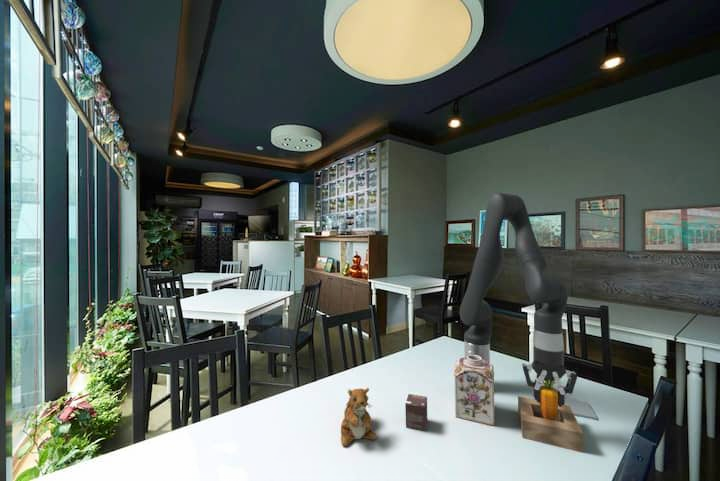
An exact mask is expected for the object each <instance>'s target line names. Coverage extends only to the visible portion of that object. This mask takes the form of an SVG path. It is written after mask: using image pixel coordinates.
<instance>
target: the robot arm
mask: <svg viewBox="0 0 720 481" xmlns="http://www.w3.org/2000/svg"><path fill="white" fill-rule="evenodd" d="M483 221H484V222H483V228H482V232H481V233H482V234H481V237H480V241H479V245H478V249H477V253H476V256H475V260H474V263H473V266H472V270H471V275H470V278H469V280H468V281H469V282H468V285H467V289H466V292H465V294H464V296H463V299H462V301H461V304H460V307H459V317H460V318H459V319H460V320H461V322H462V324H464V325H466V326H469V328H468V329H467V330H466V331H465V332H464V335H463V338H464V341H463V342H464V343H463V344H464V358H465V357H467V356H468V355H477V356H480V357H481V358H482V359H483V360H485V361H487V362H489V363H491V353H490V352H491V350H490V349H491V344H490V341H491V337H492V334H493V311H492V307H491V305H490V304H489V303H488V302H487V301H485V300H484V298H485V296H486V294H487V292H488V290H489V289H490V288H491V286H493V284H494V283H495V281H496V280H497V279H498V276H499V274H500V273H501V269H502V267H503V266H502V265H503V263H504V259H505V254H504V249H503V244H502V241H501V229H502V225H503V222H504V221H508V222H509V223H510V224H511V226H512V228H513V230H514V233H515V241H514V249H515V254H516V257H517V259H518V261H519V264H520V266H521V268H522V270H523V274H524V275H523V277H524V283H525V290H526V293H527V295H528V296H529V298H530V299H531V300H532V301H533V302H536V303H538V304H543V305H542V307H541V308H539V309H537V310H535V311H534V312H533V334H532V343H533V344H532V345H533V347H532V348H533V351H532V352H533V353H532V354H533V355H532V356H533V361H532V363H531V364H526V363H522V364H521V367H522V371H523V374H524V377H525V381H526V383H527V386H528V387H531V388H533V397H534V398H533V399H535V400H537V402H539V403H540V387H541V386H542V384H543V380H544V381H549V382H550V381H551V382H552V381H553V380H555V381H556V382H555V384H556V387H557V389H558V390H557V391H558V405H559V407H562V405H564V404H565V398H566V397H565V396H566V394H569V395H572V394H573V392H574V389H575V386H576V383H577V379H578V376H577V373H576V372H575V371H574V370H567V369H566V368H565V366H564V364H565V360H564V359H565V358H564V356H565V354H564V351H565V350H564V337H563V336H564V335H563V316H564V313H565V310H566V306H567V302H568V299H569V292H568V286H567V285H566V284H565V282H564V281H562V280H561V279H558V278H544V276H543V273H545V272H546V271H548V270H549V267H550V265H549V263H548V260H547V259H546V256H545V255H544V253H543V250H542V249H541V247H540V245H539V243H538V241H537V238H536V236H535V233H534V230H533V226H532V223H531V220H530V217H529V213H528V209H527V207H526V204H525V202H524V199H523V198H522V197H520V195H516V194H513V193H512V194H511V193H504V192H496V193H494V194H492V195H491V197H490V198H489V200H488V202H487V204H486V209H485V214H484V220H483ZM532 369H533V371H534V372H535V374H536V376H535V379H534V381H532V380H531V376H530V374H531V373H532ZM565 375H566V378H567V381H566V384H565V386H563V384H562V382H561V379H562V378H563V376H565Z"/></svg>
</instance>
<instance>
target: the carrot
mask: <svg viewBox="0 0 720 481" xmlns="http://www.w3.org/2000/svg"><path fill="white" fill-rule="evenodd" d="M542 384H544V385H541V386H540V388H539V390H540V406H541V411H542V415H543V418H544V419H548V420H552V421H555V419H556V416H557V411H558V390H557V389H556V388H554V387H553V386H554V385H555V384H556V381H555V380H553V381H552V382H551V381H544V380H543V382H542Z"/></svg>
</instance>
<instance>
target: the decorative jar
mask: <svg viewBox="0 0 720 481" xmlns="http://www.w3.org/2000/svg"><path fill="white" fill-rule="evenodd" d="M454 368H455V369H454V375H453V376H454V416H455V418H459V419H464V420H468V421H472V422H476V423H480V424H485V425H488V426H489V425H490V426H495V393H496V392H495V388H494V387H495V385H494V384H495V383H494V382H495V379H494V378H495V373H494V372H495V371H494V364H493V363H491V362H490V363H489V362H487V361H485V360H483V359H482V358H481V357H480V356H477V355H468V356H467V357H465V356H464V357H460V358H457V359H456V362H455V366H454Z"/></svg>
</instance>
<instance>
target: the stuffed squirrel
mask: <svg viewBox="0 0 720 481" xmlns="http://www.w3.org/2000/svg"><path fill="white" fill-rule="evenodd" d="M369 391H370V389H369V387H366V388H365V389H364V388H355V389H351V388H348V389H347V394H348V396H349V397H348V401H347V403H346V406H345V409H344V414H343V415H344V416H343V417H344V418H343V419H342V423H341V424H340V434H341V435H340V441H341V445H342V447H347V446H348V445H349V444H350V443H351V442H353V440H360V439H362V438H363V439H366V440H372V441H375V440H376V438H377V436H376V435H377V434H376V433H375V432H374V430H372V418H371V415H370V412H368V411H367V407H368V408H369V409H370V408H372V407H373V406H372V405H371V404H370V403H368V401H369V396H368V395H367V393H368V392H369Z"/></svg>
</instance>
